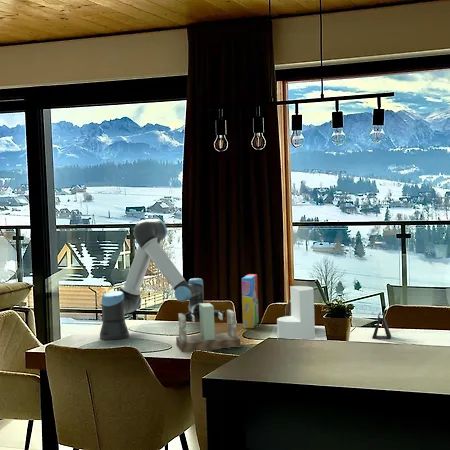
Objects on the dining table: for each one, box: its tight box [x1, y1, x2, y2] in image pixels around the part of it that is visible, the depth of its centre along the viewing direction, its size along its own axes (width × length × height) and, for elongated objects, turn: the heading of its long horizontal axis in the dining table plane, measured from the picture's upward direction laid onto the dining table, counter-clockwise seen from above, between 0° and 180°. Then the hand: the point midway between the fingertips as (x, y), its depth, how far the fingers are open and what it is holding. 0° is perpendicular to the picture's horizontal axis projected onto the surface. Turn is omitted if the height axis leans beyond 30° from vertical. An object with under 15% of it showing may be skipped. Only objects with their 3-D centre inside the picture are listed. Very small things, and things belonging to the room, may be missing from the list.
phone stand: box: [371, 312, 392, 340], centre depth 367 cm, size 9×6×12 cm, turn 75°
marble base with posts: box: [175, 309, 241, 353], centre depth 362 cm, size 28×18×16 cm, turn 102°
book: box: [199, 302, 216, 340], centre depth 362 cm, size 5×11×16 cm, turn 12°
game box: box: [241, 273, 260, 329], centre depth 413 cm, size 21×6×27 cm, turn 168°
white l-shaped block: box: [276, 285, 316, 340], centre depth 349 cm, size 17×17×28 cm
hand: (207, 318), depth 359 cm, fingers open, 13 cm apart
